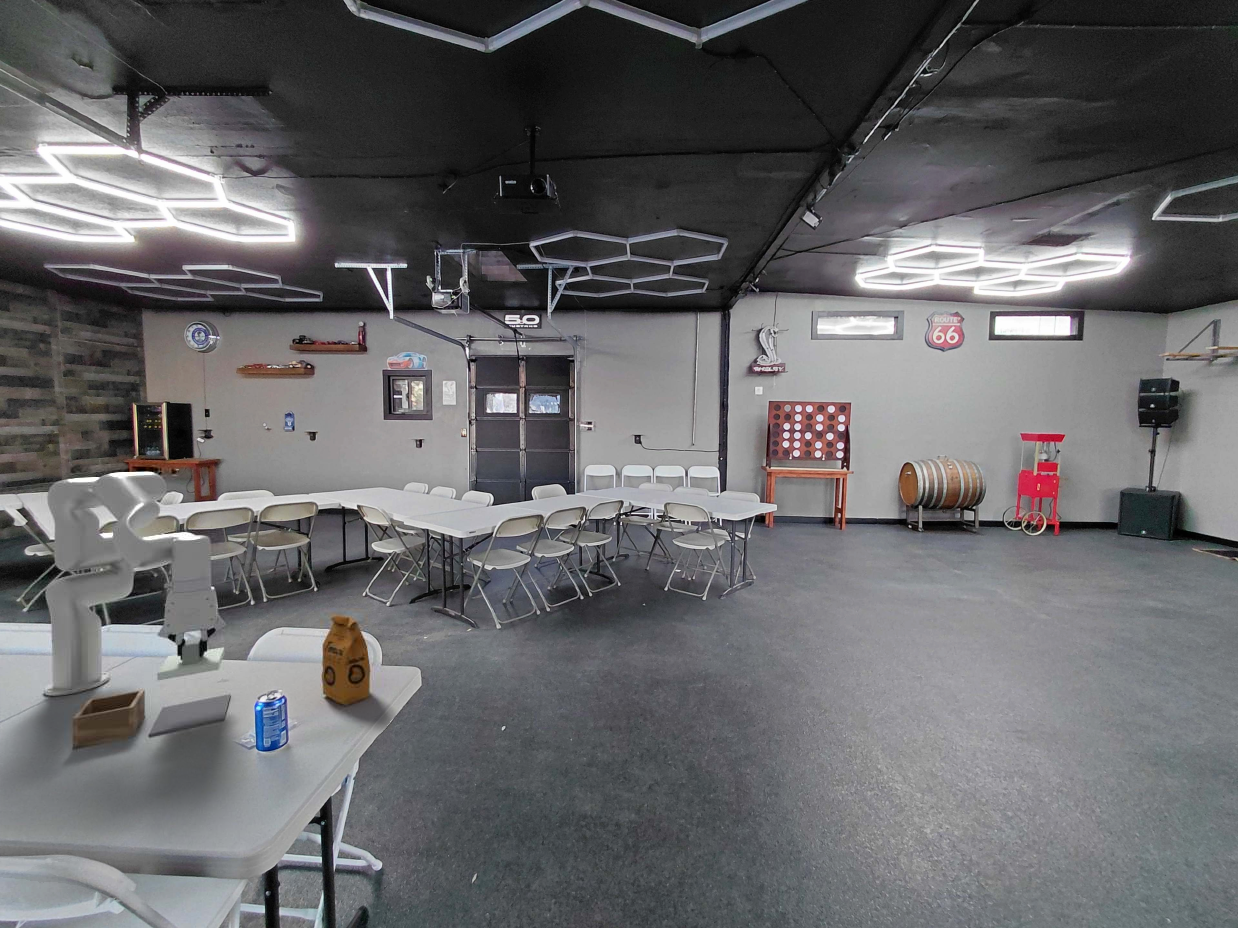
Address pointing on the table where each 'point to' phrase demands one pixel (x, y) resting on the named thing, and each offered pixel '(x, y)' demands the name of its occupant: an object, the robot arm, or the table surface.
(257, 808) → the table surface
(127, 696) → the crate
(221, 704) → the mat
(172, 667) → the lid
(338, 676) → the coffee package
